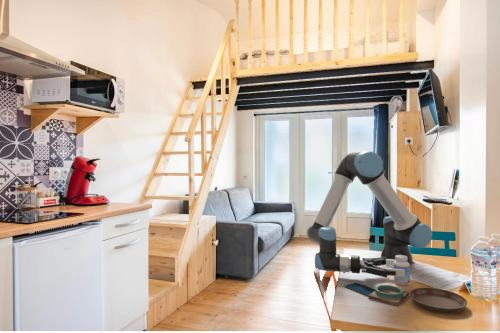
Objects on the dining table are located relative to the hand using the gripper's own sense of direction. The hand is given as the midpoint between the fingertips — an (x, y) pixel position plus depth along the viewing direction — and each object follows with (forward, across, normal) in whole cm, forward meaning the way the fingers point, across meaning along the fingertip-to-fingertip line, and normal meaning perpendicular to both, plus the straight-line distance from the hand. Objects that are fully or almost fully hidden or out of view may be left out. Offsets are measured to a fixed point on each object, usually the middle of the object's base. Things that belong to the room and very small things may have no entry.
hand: (403, 268), depth 134 cm
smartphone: (-15, +13, -7) cm, 21 cm away
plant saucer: (+9, +19, -7) cm, 22 cm away
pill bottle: (-1, 0, -7) cm, 7 cm away
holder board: (-6, +17, -6) cm, 19 cm away
